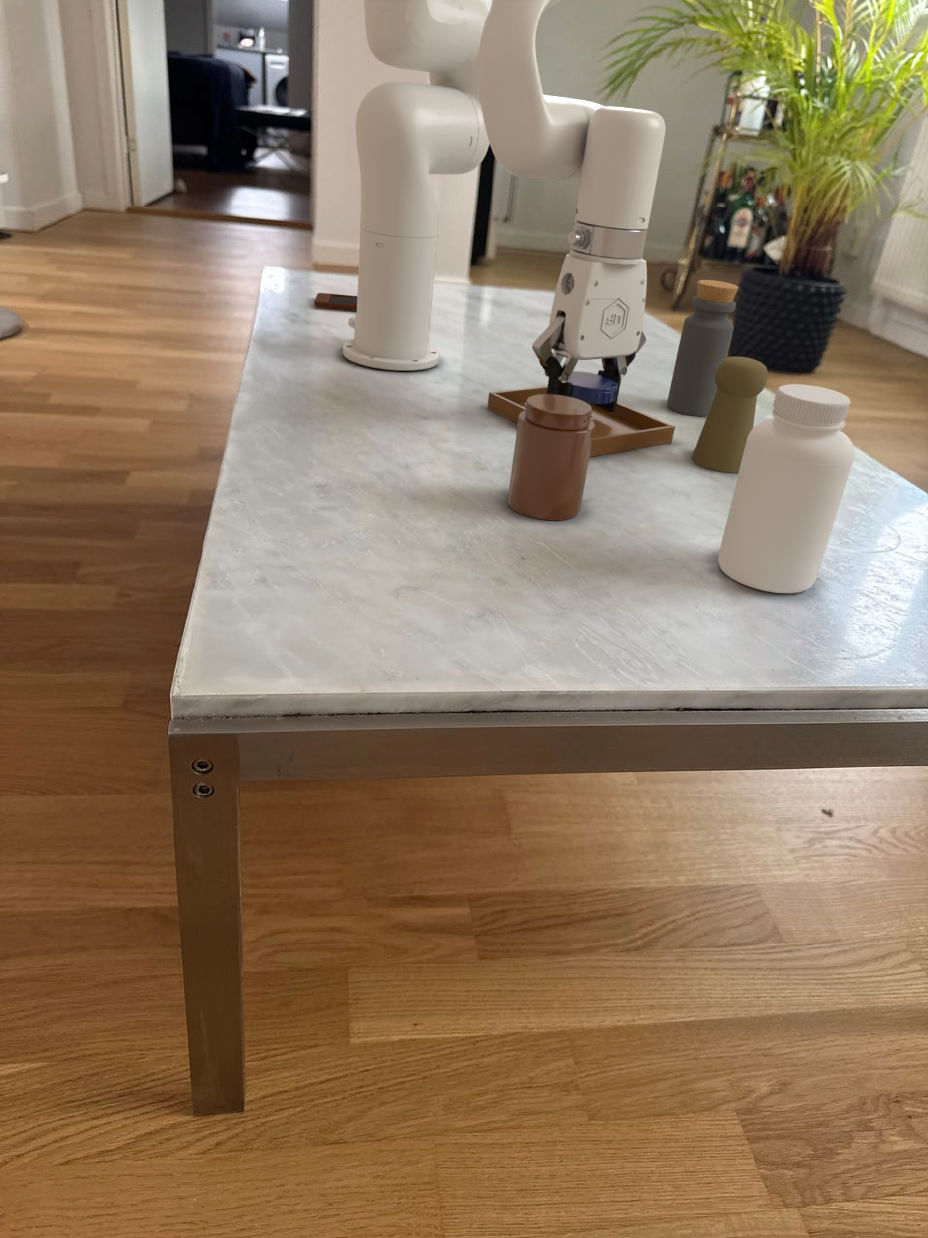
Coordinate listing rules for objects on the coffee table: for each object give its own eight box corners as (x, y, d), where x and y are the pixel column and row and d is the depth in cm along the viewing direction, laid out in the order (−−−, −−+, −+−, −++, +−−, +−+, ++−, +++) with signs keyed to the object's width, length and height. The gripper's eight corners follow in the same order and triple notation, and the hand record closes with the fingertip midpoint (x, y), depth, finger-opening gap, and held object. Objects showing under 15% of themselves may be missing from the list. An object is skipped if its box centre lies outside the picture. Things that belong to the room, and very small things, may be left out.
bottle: (714, 419, 115) (744, 291, 107) (666, 411, 115) (693, 283, 108) (713, 406, 120) (742, 283, 112) (666, 398, 120) (692, 276, 113)
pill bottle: (702, 549, 80) (746, 374, 73) (792, 554, 81) (844, 382, 74) (733, 593, 73) (785, 405, 66) (830, 598, 74) (892, 413, 67)
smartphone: (412, 309, 146) (314, 300, 144) (411, 316, 146) (313, 307, 145) (411, 300, 152) (317, 291, 150) (410, 306, 152) (317, 297, 151)
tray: (487, 408, 109) (488, 392, 108) (570, 398, 116) (572, 382, 115) (586, 457, 98) (589, 440, 97) (671, 442, 105) (675, 426, 104)
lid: (541, 388, 105) (543, 372, 104) (586, 383, 109) (588, 369, 108) (583, 406, 101) (585, 390, 100) (628, 401, 105) (631, 386, 104)
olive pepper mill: (716, 474, 97) (743, 368, 92) (679, 454, 102) (703, 351, 96) (760, 470, 100) (788, 366, 94) (722, 450, 104) (747, 350, 99)
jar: (497, 509, 83) (511, 405, 79) (520, 486, 89) (533, 387, 84) (569, 526, 82) (587, 421, 77) (587, 501, 87) (605, 402, 82)
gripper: (569, 250, 90) (543, 430, 99) (691, 249, 100) (657, 414, 108) (520, 236, 95) (499, 409, 104) (640, 236, 105) (611, 395, 114)
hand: (580, 410), depth 106 cm, fingers closed on lid, 6 cm apart
